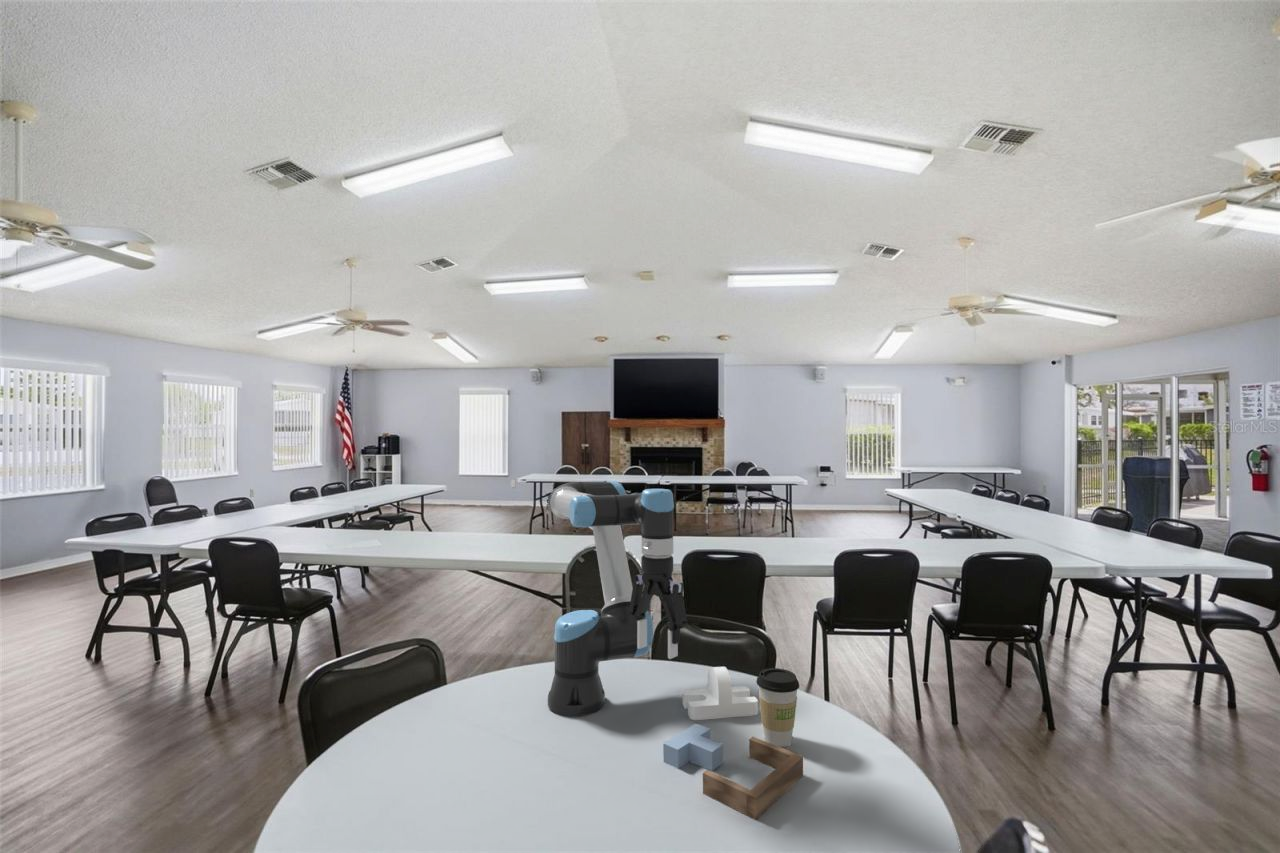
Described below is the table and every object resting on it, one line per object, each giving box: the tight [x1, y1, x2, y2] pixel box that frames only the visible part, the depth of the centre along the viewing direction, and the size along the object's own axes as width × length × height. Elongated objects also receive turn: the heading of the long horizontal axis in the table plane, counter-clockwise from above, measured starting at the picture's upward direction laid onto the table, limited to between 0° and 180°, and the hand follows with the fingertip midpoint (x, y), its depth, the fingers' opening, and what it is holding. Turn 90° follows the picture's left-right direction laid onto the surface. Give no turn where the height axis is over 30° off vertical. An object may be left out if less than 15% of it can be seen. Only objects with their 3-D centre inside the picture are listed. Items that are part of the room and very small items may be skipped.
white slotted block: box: [682, 666, 759, 721], centre depth 151 cm, size 10×18×11 cm, turn 100°
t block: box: [662, 723, 724, 772], centre depth 127 cm, size 10×12×4 cm
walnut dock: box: [702, 736, 804, 821], centre depth 118 cm, size 12×19×4 cm, turn 138°
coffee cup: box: [755, 667, 800, 748], centre depth 135 cm, size 10×10×15 cm
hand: (657, 651), depth 136 cm, fingers open, 9 cm apart
